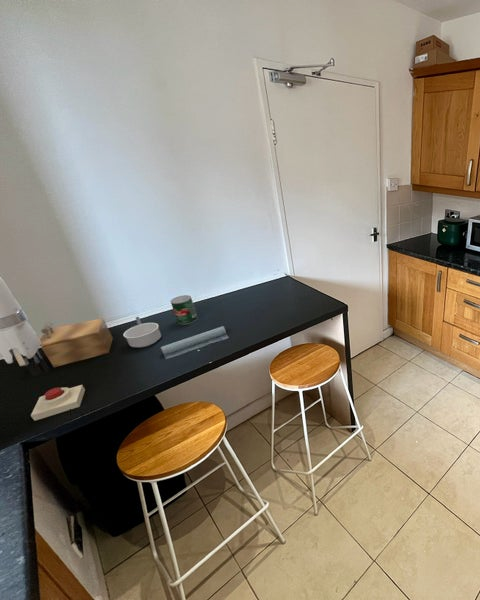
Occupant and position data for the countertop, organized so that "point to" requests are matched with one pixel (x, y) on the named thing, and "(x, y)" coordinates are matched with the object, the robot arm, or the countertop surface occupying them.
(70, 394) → the switch block
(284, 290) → the countertop surface
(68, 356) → the box
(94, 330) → the lid
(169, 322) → the countertop surface
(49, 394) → the button
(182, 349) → the aluminum foil
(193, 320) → the canned tomato
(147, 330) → the saucepan
